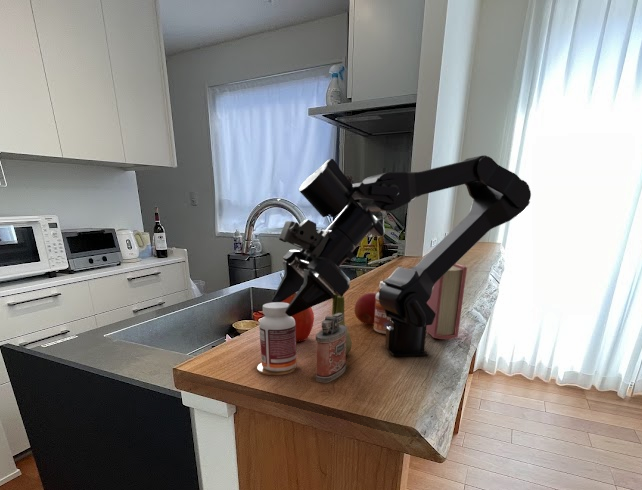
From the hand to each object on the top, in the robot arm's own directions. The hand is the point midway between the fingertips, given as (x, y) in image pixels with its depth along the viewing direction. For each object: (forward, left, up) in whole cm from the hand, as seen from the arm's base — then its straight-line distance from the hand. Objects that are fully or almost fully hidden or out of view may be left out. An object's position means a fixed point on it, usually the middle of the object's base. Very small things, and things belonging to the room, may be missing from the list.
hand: (280, 308), depth 64 cm
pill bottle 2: (-24, -20, -11) cm, 33 cm away
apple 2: (-22, -23, -9) cm, 33 cm away
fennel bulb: (-11, -6, -11) cm, 16 cm away
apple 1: (-3, -16, -11) cm, 20 cm away
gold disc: (+1, 0, -11) cm, 11 cm away
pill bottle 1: (+1, 0, -11) cm, 11 cm away
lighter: (-8, +3, -11) cm, 14 cm away
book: (-32, -19, -3) cm, 37 cm away
